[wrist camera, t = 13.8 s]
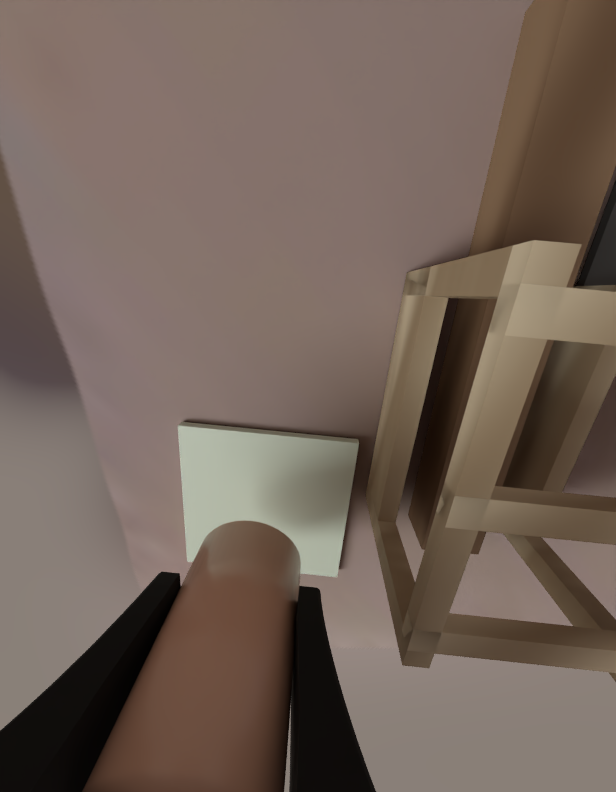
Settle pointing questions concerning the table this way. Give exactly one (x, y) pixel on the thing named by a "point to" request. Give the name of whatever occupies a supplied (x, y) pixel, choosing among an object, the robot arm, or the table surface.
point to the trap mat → (602, 250)
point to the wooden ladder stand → (501, 455)
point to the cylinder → (214, 676)
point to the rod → (531, 199)
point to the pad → (268, 487)
